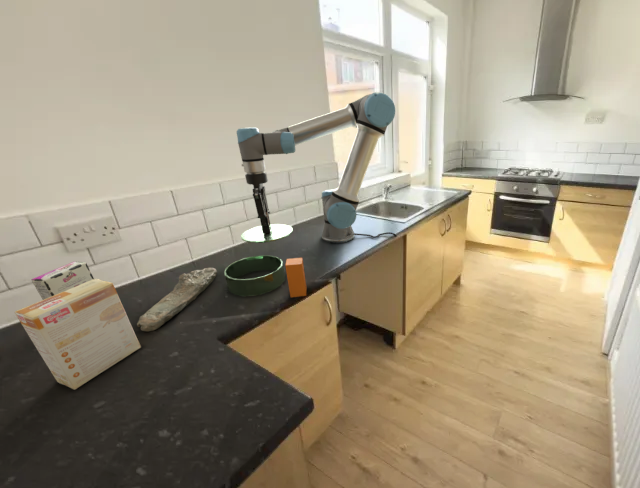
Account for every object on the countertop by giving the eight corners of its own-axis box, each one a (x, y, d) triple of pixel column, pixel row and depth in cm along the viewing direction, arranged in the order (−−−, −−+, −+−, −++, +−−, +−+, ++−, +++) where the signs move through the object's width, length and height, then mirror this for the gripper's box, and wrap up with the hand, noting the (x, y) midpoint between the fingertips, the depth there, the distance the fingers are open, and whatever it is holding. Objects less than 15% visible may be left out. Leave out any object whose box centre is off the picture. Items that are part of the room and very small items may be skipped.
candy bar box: (96, 307, 101) (73, 260, 94) (109, 308, 100) (87, 261, 93) (57, 329, 91) (29, 278, 84) (71, 330, 90) (44, 280, 83)
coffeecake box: (124, 341, 85) (95, 277, 77) (142, 347, 83) (114, 282, 75) (55, 382, 72) (11, 311, 64) (74, 391, 70) (31, 317, 62)
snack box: (306, 289, 108) (302, 257, 103) (306, 296, 104) (301, 263, 99) (291, 290, 107) (286, 258, 102) (290, 298, 103) (285, 265, 98)
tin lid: (294, 224, 140) (291, 204, 136) (291, 241, 122) (287, 218, 118) (246, 229, 136) (242, 208, 132) (236, 246, 118) (230, 223, 115)
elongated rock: (129, 336, 89) (164, 338, 89) (122, 321, 87) (158, 323, 86) (198, 272, 120) (224, 273, 120) (195, 260, 118) (221, 261, 117)
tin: (287, 268, 123) (284, 253, 120) (282, 293, 106) (279, 276, 103) (235, 273, 120) (231, 258, 117) (222, 300, 103) (217, 282, 100)
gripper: (249, 169, 125) (260, 226, 135) (240, 176, 111) (254, 239, 121) (268, 168, 126) (278, 224, 136) (262, 175, 112) (274, 237, 122)
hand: (267, 231), depth 128 cm, fingers closed on tin lid, 3 cm apart
